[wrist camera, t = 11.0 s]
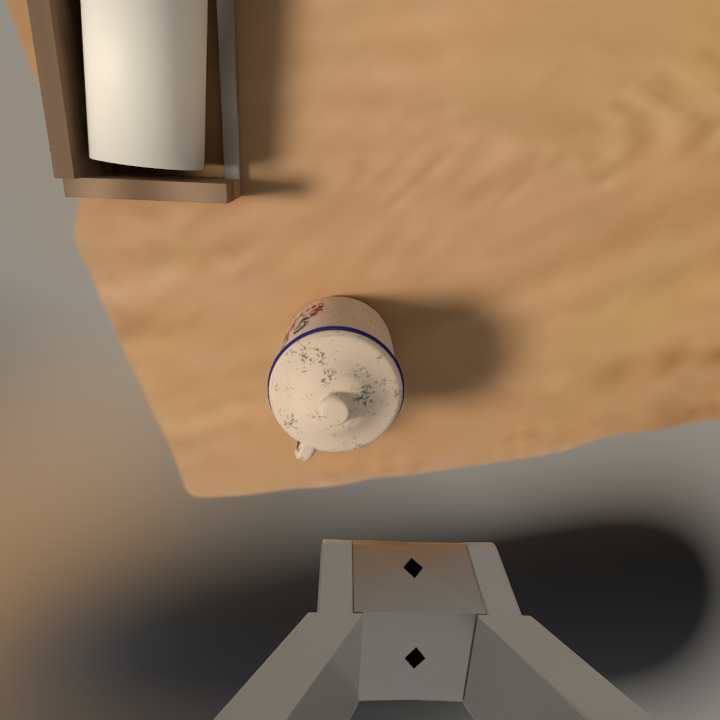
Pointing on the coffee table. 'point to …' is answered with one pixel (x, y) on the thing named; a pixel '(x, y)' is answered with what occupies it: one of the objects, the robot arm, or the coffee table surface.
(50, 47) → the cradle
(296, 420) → the teacup with lid
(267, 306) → the coffee table surface
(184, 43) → the roll
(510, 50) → the coffee table surface
